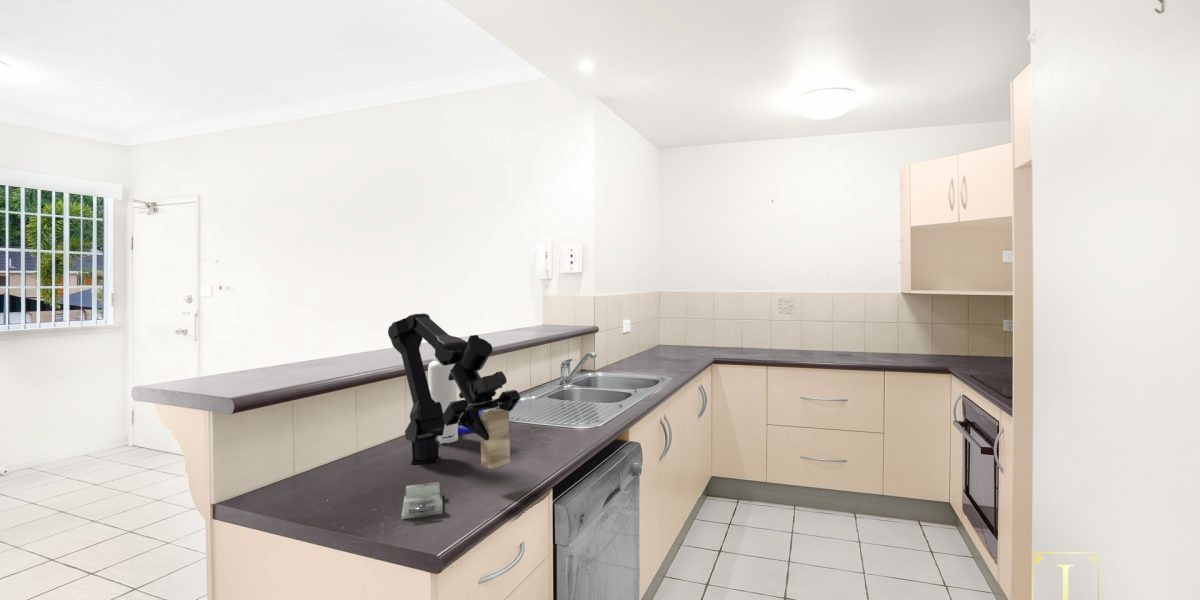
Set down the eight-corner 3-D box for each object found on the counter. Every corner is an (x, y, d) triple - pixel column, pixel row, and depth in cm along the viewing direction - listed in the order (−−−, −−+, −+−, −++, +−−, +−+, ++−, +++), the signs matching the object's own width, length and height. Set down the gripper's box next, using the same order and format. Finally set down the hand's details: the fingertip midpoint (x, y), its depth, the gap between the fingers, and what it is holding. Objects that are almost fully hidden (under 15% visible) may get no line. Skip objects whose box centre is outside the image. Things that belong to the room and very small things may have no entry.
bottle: (438, 436, 174) (435, 347, 173) (462, 436, 172) (459, 347, 172) (425, 443, 166) (422, 350, 165) (450, 444, 164) (447, 350, 164)
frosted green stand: (404, 499, 123) (403, 485, 123) (442, 494, 125) (441, 480, 125) (401, 523, 110) (400, 507, 110) (442, 517, 113) (442, 501, 113)
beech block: (481, 465, 127) (479, 413, 126) (501, 459, 131) (499, 408, 130) (490, 468, 124) (489, 415, 124) (510, 462, 128) (508, 411, 128)
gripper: (447, 366, 123) (477, 424, 116) (515, 357, 136) (545, 407, 129) (430, 397, 128) (458, 454, 121) (496, 385, 142) (525, 435, 135)
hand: (498, 436), depth 126 cm, fingers closed on beech block, 5 cm apart
